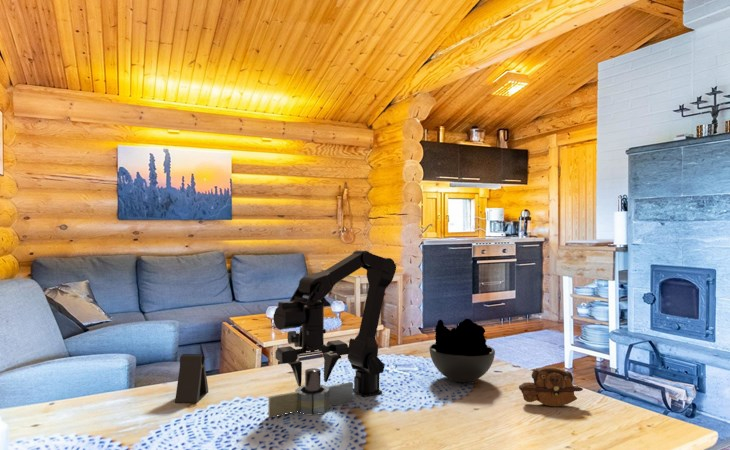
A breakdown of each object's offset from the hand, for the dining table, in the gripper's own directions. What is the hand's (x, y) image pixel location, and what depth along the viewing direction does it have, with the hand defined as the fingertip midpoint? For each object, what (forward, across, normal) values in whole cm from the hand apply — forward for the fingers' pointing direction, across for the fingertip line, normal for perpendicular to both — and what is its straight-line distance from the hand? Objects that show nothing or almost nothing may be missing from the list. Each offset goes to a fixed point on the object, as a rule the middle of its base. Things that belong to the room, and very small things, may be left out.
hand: (312, 383), depth 128 cm
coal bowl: (+7, -50, +1) cm, 50 cm away
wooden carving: (+7, -57, +29) cm, 64 cm away
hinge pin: (+6, 0, 0) cm, 7 cm away
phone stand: (+7, +26, -24) cm, 36 cm away
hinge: (+6, 0, 0) cm, 6 cm away
